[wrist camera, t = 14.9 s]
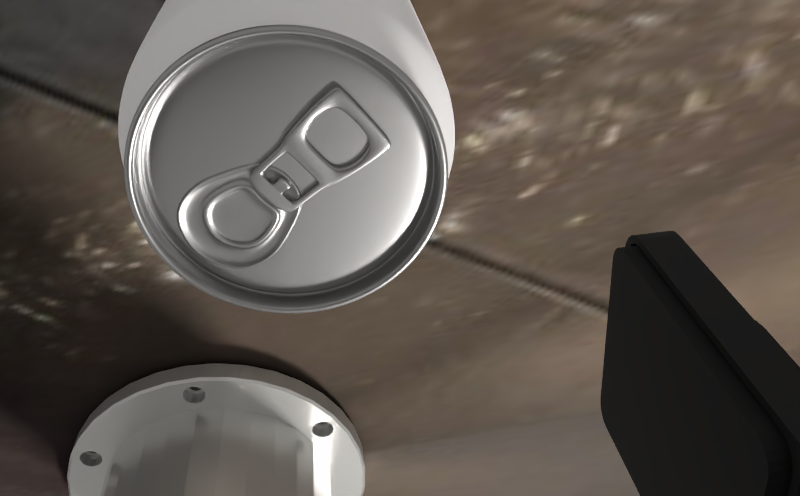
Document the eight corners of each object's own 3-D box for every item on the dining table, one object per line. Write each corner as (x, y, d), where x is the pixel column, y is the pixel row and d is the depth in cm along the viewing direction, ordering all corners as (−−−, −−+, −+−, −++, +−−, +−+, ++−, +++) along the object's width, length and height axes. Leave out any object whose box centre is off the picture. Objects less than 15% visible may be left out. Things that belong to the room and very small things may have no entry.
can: (140, -6, 23) (11, 176, 13) (299, -163, 21) (297, -97, 11) (291, 142, 26) (285, 383, 16) (441, 16, 24) (542, 195, 14)
